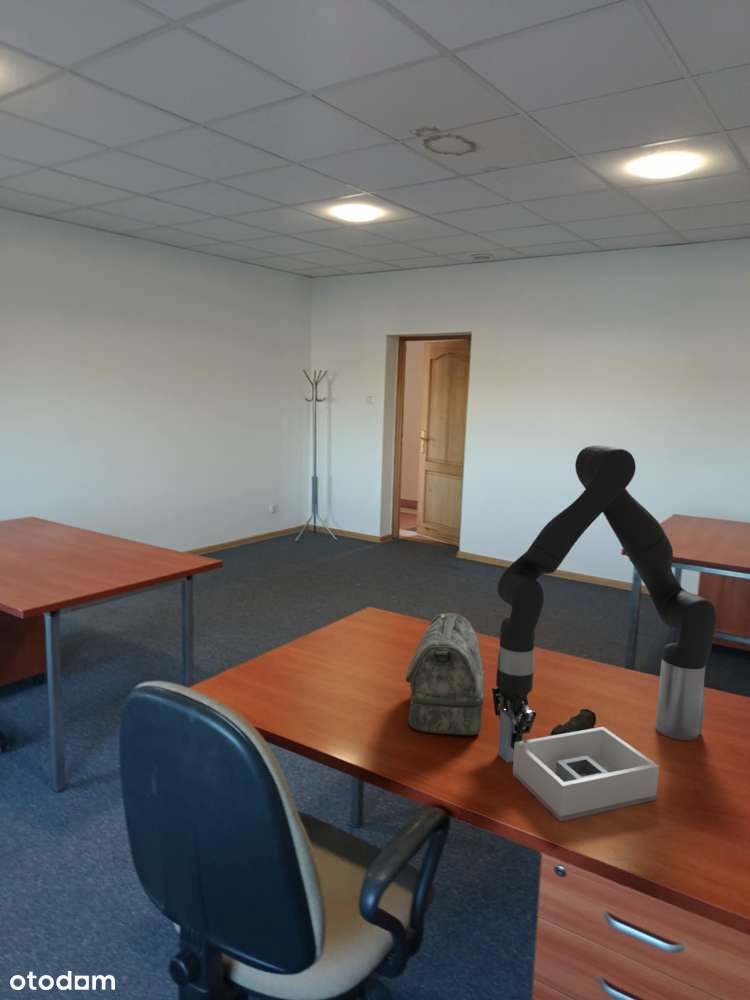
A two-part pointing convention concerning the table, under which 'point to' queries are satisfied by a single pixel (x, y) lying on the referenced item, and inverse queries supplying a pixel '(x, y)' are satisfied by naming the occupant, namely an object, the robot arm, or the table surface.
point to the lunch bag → (447, 678)
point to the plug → (506, 737)
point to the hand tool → (576, 723)
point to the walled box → (584, 772)
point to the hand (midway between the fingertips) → (510, 742)
